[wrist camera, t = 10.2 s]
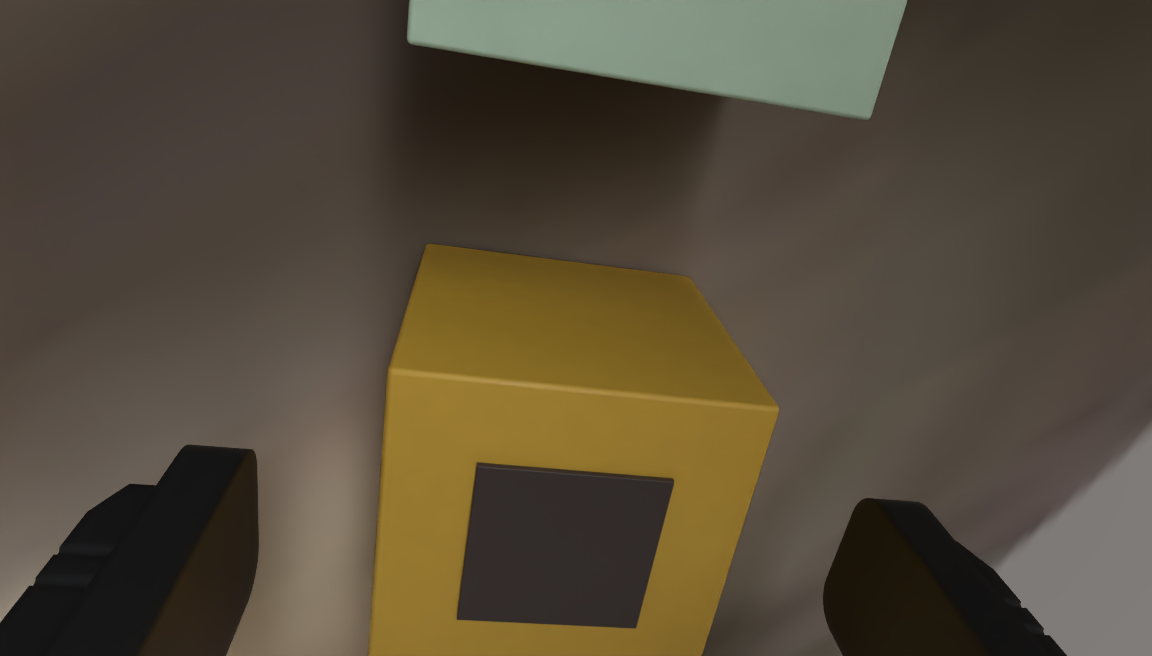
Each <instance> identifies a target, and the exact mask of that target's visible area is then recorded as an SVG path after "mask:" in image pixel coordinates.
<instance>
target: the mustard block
mask: <svg viewBox="0 0 1152 656" xmlns="http://www.w3.org/2000/svg"><path fill="white" fill-rule="evenodd" d="M778 414H779V407H778V406H777V404H776V403H775V401H774V400H773V398H772V397H771V395H770V394H769V392H768V391H767V389H766V388H765V387H764V385H763V384H762V382H761V381H760V379H759V378H758V376H757V375H756V373H755V372H754V370H753V369H752V368H751V366H750V365H749V363H748V362H747V360H746V359H745V357H744V356H743V354H742V353H741V351H740V350H739V349H738V347H737V346H736V344H735V343H734V341H733V340H732V338H731V337H730V335H729V334H728V332H727V331H726V330H725V328H724V327H723V325H722V324H721V322H720V321H719V319H718V318H717V316H716V315H715V313H714V312H713V311H712V309H711V308H710V306H709V305H708V303H707V302H706V300H705V299H704V297H703V296H702V294H701V293H700V292H699V290H698V289H697V287H696V286H695V284H694V283H693V281H692V280H691V278H690V277H688V276H681V275H673V274H665V273H658V272H650V271H642V270H634V269H626V268H618V267H610V266H602V265H594V264H587V263H579V262H571V261H563V260H555V259H547V258H539V257H531V256H523V255H516V254H508V253H500V252H492V251H484V250H476V249H468V248H460V247H452V246H444V245H437V244H427V245H426V247H425V250H424V253H423V256H422V260H421V263H420V266H419V269H418V273H417V276H416V279H415V283H414V286H413V289H412V292H411V296H410V299H409V302H408V306H407V309H406V312H405V315H404V319H403V322H402V325H401V329H400V332H399V335H398V339H397V342H396V345H395V348H394V352H393V355H392V358H391V362H390V365H389V368H388V371H387V385H386V399H385V414H384V428H383V442H382V457H381V471H380V486H379V500H378V515H377V529H376V544H375V558H374V573H373V587H372V602H371V616H370V631H369V645H368V656H702V653H703V650H704V647H705V644H706V641H707V638H708V635H709V631H710V628H711V625H712V622H713V619H714V616H715V612H716V609H717V606H718V603H719V600H720V597H721V594H722V590H723V587H724V584H725V581H726V578H727V575H728V571H729V568H730V565H731V562H732V559H733V556H734V553H735V549H736V546H737V543H738V540H739V537H740V534H741V530H742V527H743V524H744V521H745V518H746V515H747V511H748V508H749V505H750V502H751V499H752V496H753V493H754V489H755V486H756V483H757V480H758V477H759V474H760V470H761V467H762V464H763V461H764V458H765V455H766V452H767V448H768V445H769V442H770V439H771V436H772V433H773V429H774V426H775V423H776V420H777V417H778Z"/></svg>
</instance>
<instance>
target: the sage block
mask: <svg viewBox="0 0 1152 656" xmlns="http://www.w3.org/2000/svg"><path fill="white" fill-rule="evenodd" d="M906 3H907V0H409V12H408V27H407V40H408V42H409V43H410V44H412V45H418V46H424V47H430V48H436V49H442V50H448V51H454V52H460V53H466V54H472V55H478V56H484V57H489V58H495V59H501V60H507V61H513V62H519V63H525V64H531V65H537V66H543V67H549V68H555V69H561V70H567V71H573V72H579V73H585V74H591V75H597V76H603V77H609V78H615V79H621V80H627V81H633V82H639V83H645V84H651V85H657V86H663V87H669V88H675V89H681V90H687V91H693V92H699V93H705V94H711V95H717V96H723V97H729V98H735V99H741V100H747V101H753V102H759V103H765V104H771V105H777V106H783V107H789V108H795V109H801V110H807V111H813V112H819V113H825V114H831V115H837V116H843V117H849V118H855V119H860V120H867V119H869V118H870V117H871V114H872V111H873V108H874V105H875V101H876V98H877V95H878V92H879V89H880V86H881V83H882V79H883V76H884V73H885V70H886V67H887V64H888V60H889V57H890V54H891V51H892V48H893V45H894V41H895V38H896V35H897V32H898V29H899V26H900V22H901V19H902V16H903V13H904V10H905V7H906Z"/></svg>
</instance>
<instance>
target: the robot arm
mask: <svg viewBox="0 0 1152 656" xmlns="http://www.w3.org/2000/svg"><path fill="white" fill-rule="evenodd" d="M59 548H60V549H59V553H58V555H53V556H52V557H51V559H50V560H49V561H48V563H47V564H46V565H45V566H44V568H43V569H42V570H41V571H40V573H39V574H38V575H37V577H36V581H35V584H34V585H33V586H29V587H28V588H27V589H26V591H25V592H24V593H23V594H22V596H21V597H20V598H19V600H18V601H17V602H16V603H15V605H14V606H13V607H12V609H11V610H10V611H9V612H8V614H7V615H6V616H5V617H4V619H3V620H2V621H1V623H0V656H226V654H227V652H228V649H229V647H230V644H231V642H232V640H233V637H234V635H235V632H236V630H237V627H238V625H239V622H240V620H241V617H242V615H243V612H244V610H245V608H246V605H247V603H248V600H249V597H250V594H251V591H252V587H253V584H254V579H255V575H256V569H257V563H258V553H259V530H258V481H257V459H256V454H255V452H254V451H253V450H252V449H240V448H227V447H214V446H201V445H186V446H184V447H183V448H182V449H181V450H180V452H179V453H178V454H177V456H176V457H175V459H174V460H173V462H172V463H171V465H170V466H169V468H168V469H167V470H166V472H165V473H164V475H163V476H162V478H161V479H160V481H159V482H158V484H157V485H156V486H155V485H140V484H129V485H127V486H126V487H124V488H123V489H121V490H119V491H118V492H116V493H115V494H113V495H112V496H110V497H109V498H107V499H106V500H104V501H103V502H101V503H100V504H98V505H97V506H95V507H94V508H92V509H91V510H89V511H88V512H87V513H86V514H85V515H84V517H83V518H82V519H81V520H80V522H79V523H78V524H77V525H76V527H75V528H74V529H73V531H72V532H71V533H70V534H69V536H68V537H67V538H66V540H65V541H64V542H63V543H62V545H61V546H60V547H59ZM1020 603H1021V601H1020V600H1019V599H1018V598H1017V597H1016V595H1015V594H1014V593H1013V592H1012V591H1011V589H1010V588H1009V587H1008V586H1007V585H1006V584H1005V583H1004V581H1003V580H1002V579H1001V578H1000V576H999V575H998V574H997V573H996V572H995V571H994V569H992V568H991V567H990V566H988V565H987V564H986V563H984V562H983V561H982V560H980V559H979V558H978V557H977V556H975V555H974V554H973V553H971V552H970V551H969V550H967V549H966V548H965V547H964V546H962V545H961V544H960V543H958V542H956V541H955V540H954V539H953V538H952V536H951V535H950V534H949V533H948V532H947V530H946V529H945V528H944V527H943V526H942V524H941V523H940V522H939V521H938V520H937V518H936V517H935V516H934V515H933V513H932V512H931V511H930V510H929V509H928V508H927V507H926V506H925V505H923V504H922V503H919V502H913V501H900V500H887V499H874V498H866V499H863V500H861V501H860V502H859V503H858V504H857V505H856V507H855V509H854V511H853V513H852V515H851V518H850V520H849V523H848V525H847V528H846V530H845V533H844V535H843V538H842V541H841V543H840V546H839V548H838V551H837V553H836V556H835V558H834V561H833V563H832V566H831V568H830V571H829V573H828V576H827V578H826V581H825V585H824V592H823V605H824V613H825V617H826V621H827V624H828V627H829V629H830V631H831V633H832V635H833V637H834V639H835V641H836V643H837V645H838V647H839V649H840V651H841V652H842V654H843V656H1067V655H1066V654H1065V653H1064V652H1063V651H1062V649H1061V648H1060V647H1059V646H1058V645H1057V644H1056V642H1055V641H1054V640H1053V639H1052V638H1051V636H1049V635H1044V632H1043V627H1042V626H1041V625H1040V624H1039V622H1038V621H1037V620H1036V619H1035V618H1034V616H1033V615H1032V614H1031V613H1030V612H1029V611H1028V609H1027V608H1022V607H1021V605H1020Z"/></svg>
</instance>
